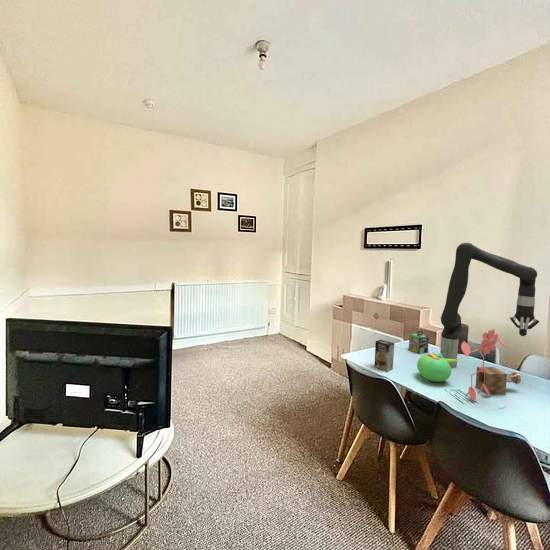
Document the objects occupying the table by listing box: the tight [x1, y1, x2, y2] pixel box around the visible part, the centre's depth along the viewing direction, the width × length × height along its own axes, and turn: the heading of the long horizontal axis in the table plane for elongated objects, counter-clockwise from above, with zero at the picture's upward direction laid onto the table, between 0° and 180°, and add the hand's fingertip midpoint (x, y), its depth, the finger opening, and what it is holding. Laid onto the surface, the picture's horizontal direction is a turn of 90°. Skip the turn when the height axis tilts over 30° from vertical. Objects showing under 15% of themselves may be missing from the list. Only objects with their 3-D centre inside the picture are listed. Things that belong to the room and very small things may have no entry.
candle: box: [457, 322, 469, 354], centre depth 216 cm, size 8×7×20 cm
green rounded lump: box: [416, 352, 459, 383], centre depth 172 cm, size 18×17×15 cm
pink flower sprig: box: [456, 328, 508, 410], centre depth 147 cm, size 15×26×35 cm, turn 113°
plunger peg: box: [506, 371, 522, 385], centre depth 160 cm, size 12×6×6 cm, turn 92°
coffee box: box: [374, 339, 395, 373], centre depth 188 cm, size 9×6×16 cm
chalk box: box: [408, 330, 430, 355], centre depth 218 cm, size 9×9×15 cm
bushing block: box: [474, 366, 508, 396], centre depth 160 cm, size 9×9×11 cm
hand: (522, 335), depth 171 cm, fingers closed
